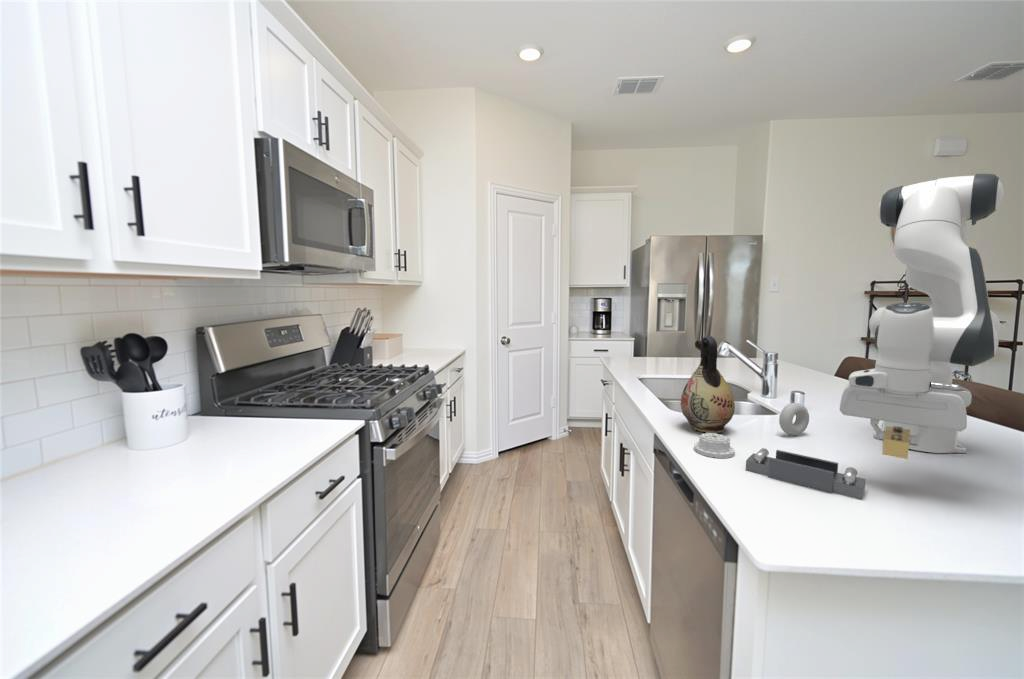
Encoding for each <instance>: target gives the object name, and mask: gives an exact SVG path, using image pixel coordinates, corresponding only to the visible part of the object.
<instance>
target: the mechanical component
mask: <svg viewBox="0 0 1024 679" xmlns="http://www.w3.org/2000/svg"><path fill="white" fill-rule="evenodd" d="M698 438H699V439H698V442H695V443H694V446H693V449H695V450H696V451H697V452H698V454H699V453H700V454H699V455H701V454H703V455H702V456H704V455H705V457H708V456H709V458H713V457H715V459H729V458H732V457H734V456H735V454H736V452H735V451H736V450H735V448H734V447H733V446H731V438H730V437H728V436H726V435H723V434H720V433H701V434H699V437H698ZM695 450H694V451H695ZM696 451H695V452H696ZM697 452H696V453H697Z"/></svg>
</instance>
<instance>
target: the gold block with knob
mask: <svg viewBox="0 0 1024 679" xmlns="http://www.w3.org/2000/svg"><path fill="white" fill-rule="evenodd" d="M909 439H910V430H908V429H903V428H902V427H898V426H894V427H889V426H886V430H885V434H884V439H883V440H882V442H883V443H882V455H883V456H889V457H894V458H900V459H904V460H905V459H906V460H909V450H910V449H909Z"/></svg>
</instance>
